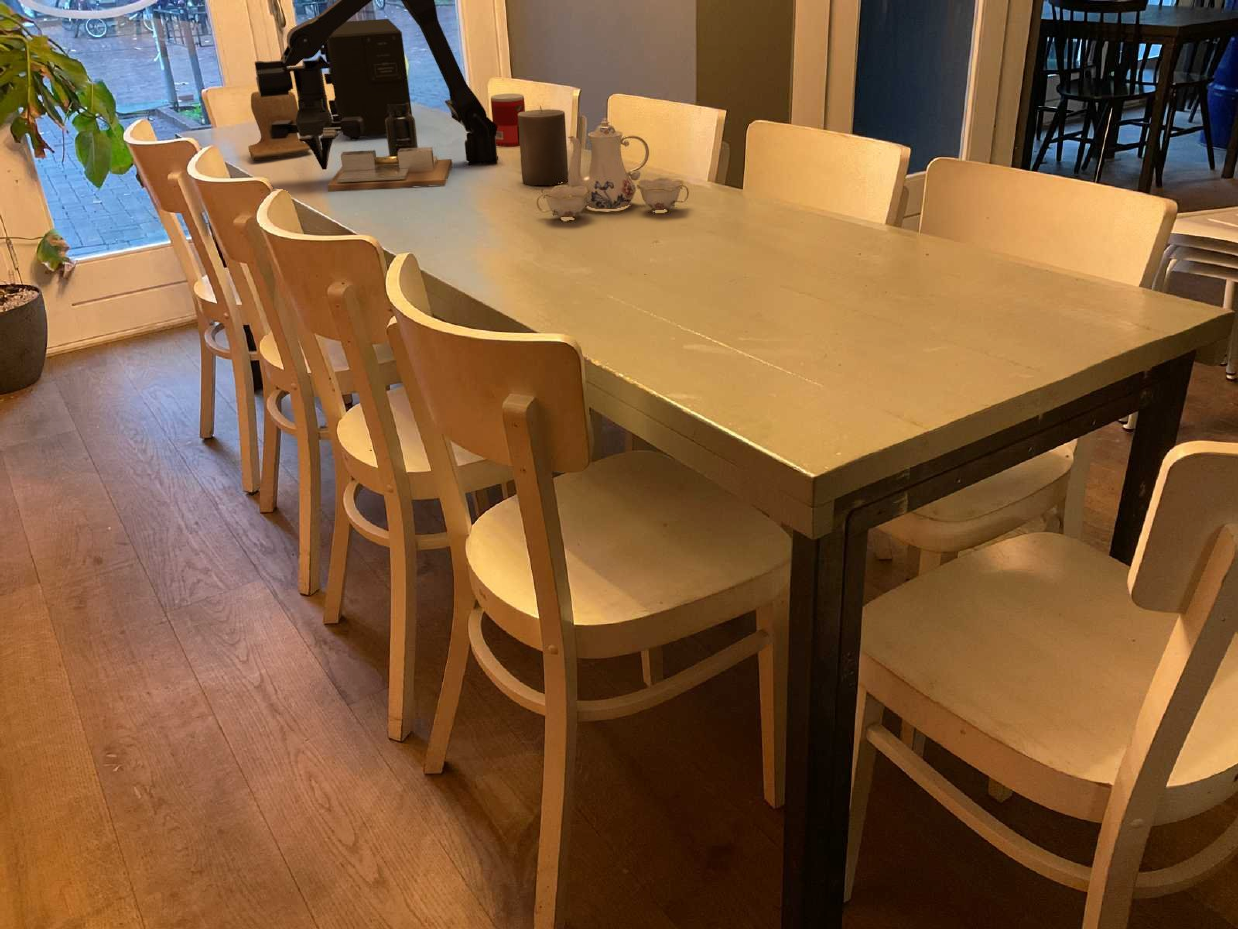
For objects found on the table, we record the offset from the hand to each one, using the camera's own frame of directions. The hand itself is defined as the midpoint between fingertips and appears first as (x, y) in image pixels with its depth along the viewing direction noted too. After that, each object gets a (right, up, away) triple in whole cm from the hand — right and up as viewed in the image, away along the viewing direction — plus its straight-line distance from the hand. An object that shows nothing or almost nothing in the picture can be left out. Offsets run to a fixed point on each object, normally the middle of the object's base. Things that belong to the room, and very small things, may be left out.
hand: (324, 169), depth 218 cm
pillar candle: (+48, -4, -6) cm, 48 cm away
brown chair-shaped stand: (-19, +11, +26) cm, 34 cm away
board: (+14, -1, +2) cm, 14 cm away
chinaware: (+62, -16, -28) cm, 69 cm away
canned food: (+37, +15, +30) cm, 49 cm away
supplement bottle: (+13, +9, +20) cm, 25 cm away
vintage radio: (-3, +27, +55) cm, 62 cm away
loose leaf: (+11, -2, -2) cm, 12 cm away
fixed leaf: (+16, +2, +4) cm, 17 cm away
